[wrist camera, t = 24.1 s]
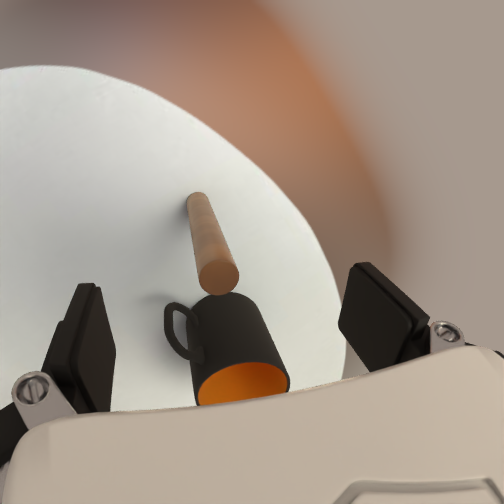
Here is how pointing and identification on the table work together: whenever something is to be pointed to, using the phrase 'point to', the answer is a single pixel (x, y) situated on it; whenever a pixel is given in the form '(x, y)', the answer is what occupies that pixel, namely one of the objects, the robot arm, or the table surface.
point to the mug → (228, 350)
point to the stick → (210, 248)
